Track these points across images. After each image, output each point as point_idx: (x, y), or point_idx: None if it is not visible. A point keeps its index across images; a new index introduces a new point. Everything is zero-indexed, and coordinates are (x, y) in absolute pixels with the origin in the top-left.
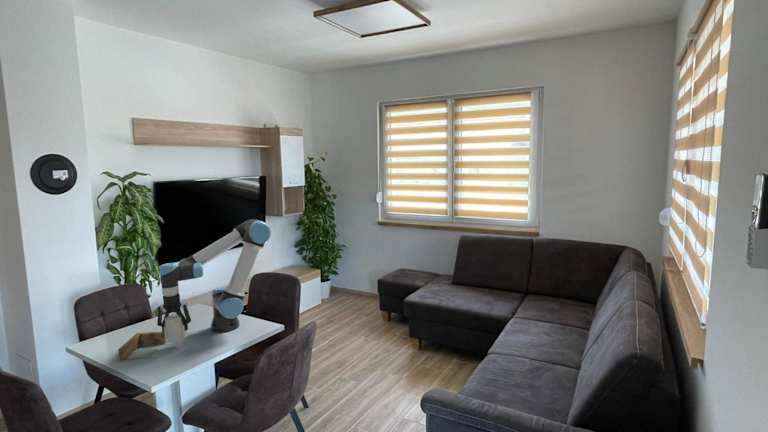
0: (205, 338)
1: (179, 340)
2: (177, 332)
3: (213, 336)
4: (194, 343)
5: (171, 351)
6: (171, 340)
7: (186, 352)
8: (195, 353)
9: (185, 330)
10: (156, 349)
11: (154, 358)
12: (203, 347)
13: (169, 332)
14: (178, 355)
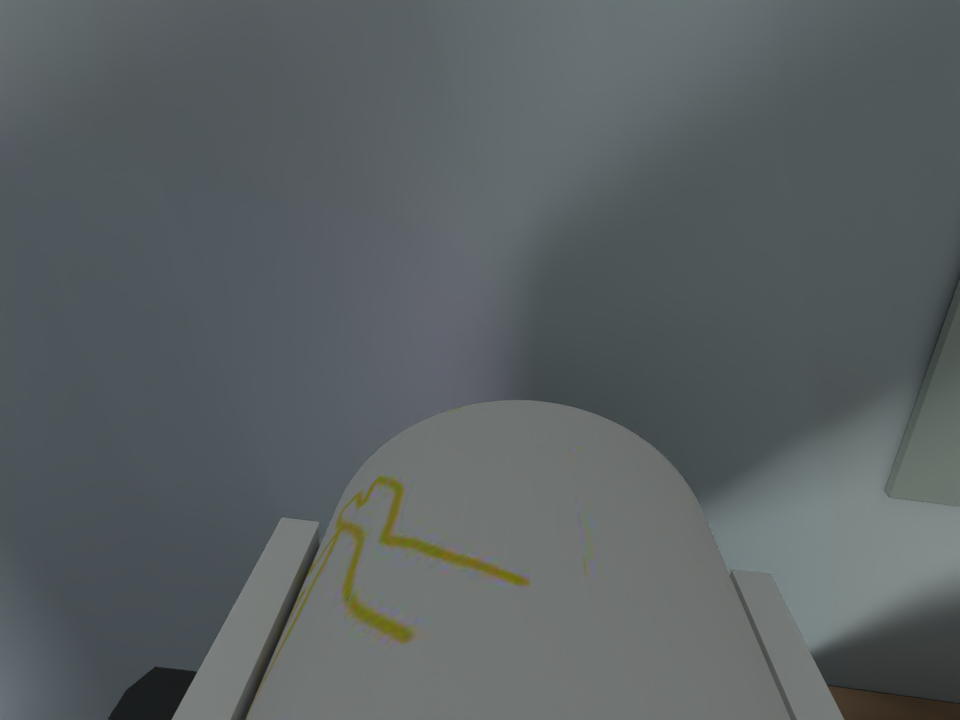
0: (130, 670)
1: (403, 434)
2: (385, 564)
3: (29, 703)
4: (247, 534)
5: (587, 298)
6: (591, 435)
7: (265, 154)
8: (54, 40)
9: (193, 674)
10: (896, 466)
11: (901, 9)
12: (11, 309)
13: (662, 597)
14: (390, 32)
